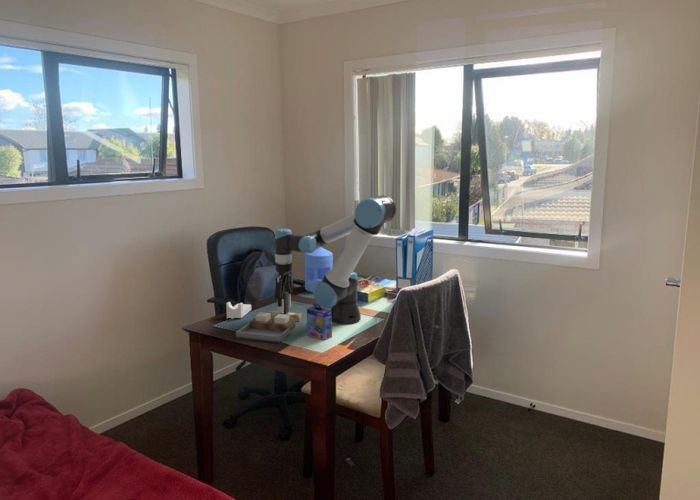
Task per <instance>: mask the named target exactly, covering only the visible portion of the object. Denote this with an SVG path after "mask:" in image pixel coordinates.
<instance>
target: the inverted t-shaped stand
mask: <svg viewBox="0 0 700 500" xmlns="http://www.w3.org/2000/svg"><path fill="white" fill-rule="evenodd" d="M282 299H283V307H284V313H277V310H269V311H267V312H266V313H271V317H276V316H277V315H278V314H284V315H289V319H295V322H300V321H302V318H303V317H302V314H303V313H300V312H290V311H289V310H290V308H289V307H288V292H285V290H284V292H283V298H282Z"/></svg>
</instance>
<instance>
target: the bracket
mask: <svg viewBox="0 0 700 500" xmlns="http://www.w3.org/2000/svg"><path fill="white" fill-rule="evenodd" d="M225 307H226V319H228V318H231V319H232V320H235V319H242V318H243V317H244V316H246V315H247V314H248V313H249V312H251V311H252V304H249V303H243V302H240V303H237V304H235V305H234V306H233V305H232V303H231V301H228V302H226V306H225ZM234 318H235V319H234ZM231 319H230V320H231Z"/></svg>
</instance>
